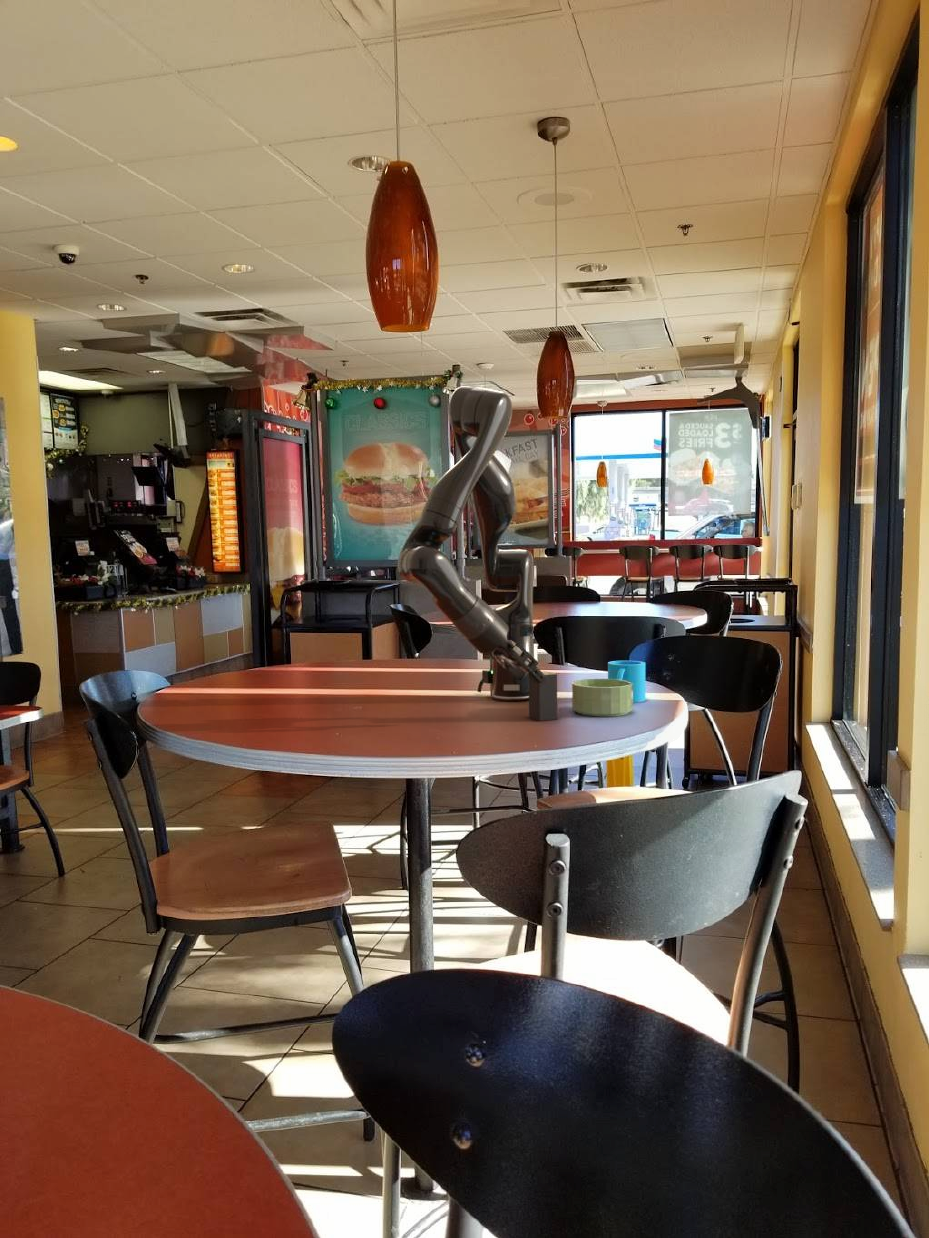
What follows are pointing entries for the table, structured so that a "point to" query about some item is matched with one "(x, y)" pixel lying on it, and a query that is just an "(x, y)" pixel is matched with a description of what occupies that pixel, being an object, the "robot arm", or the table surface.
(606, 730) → the table surface
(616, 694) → the bowl
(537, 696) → the dark rectangular block
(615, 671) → the mug
